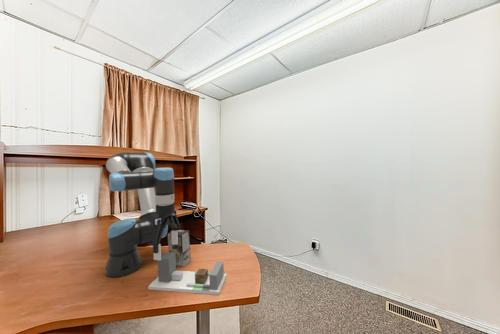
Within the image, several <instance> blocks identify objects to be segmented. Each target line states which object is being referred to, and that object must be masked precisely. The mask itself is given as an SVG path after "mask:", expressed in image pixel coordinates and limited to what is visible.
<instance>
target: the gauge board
mask: <svg viewBox="0 0 500 334" xmlns="http://www.w3.org/2000/svg"><path fill="white" fill-rule="evenodd" d="M224 270H225V269H224V261H216V262H215V264H214V266H213V267H212V270H211V271H208V279H207V281H206V282H205V284H195V274H196V272H197V271H188V270H179V271H180V272H183V277H182V279H181V280H171V281H170V282H161V281H159V280H158V276H157V277H156V278H155V279H154V280H153V281H152V282H151V283H150V284H149V285H148V290H154V291H165V292H176V293H177V292H179V293H190V294H203V295H215V296H219V295H220V293H221V291H222V289H223V286H224V283H225V282H226V279H227V273H224V272H225V271H224Z"/></svg>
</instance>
